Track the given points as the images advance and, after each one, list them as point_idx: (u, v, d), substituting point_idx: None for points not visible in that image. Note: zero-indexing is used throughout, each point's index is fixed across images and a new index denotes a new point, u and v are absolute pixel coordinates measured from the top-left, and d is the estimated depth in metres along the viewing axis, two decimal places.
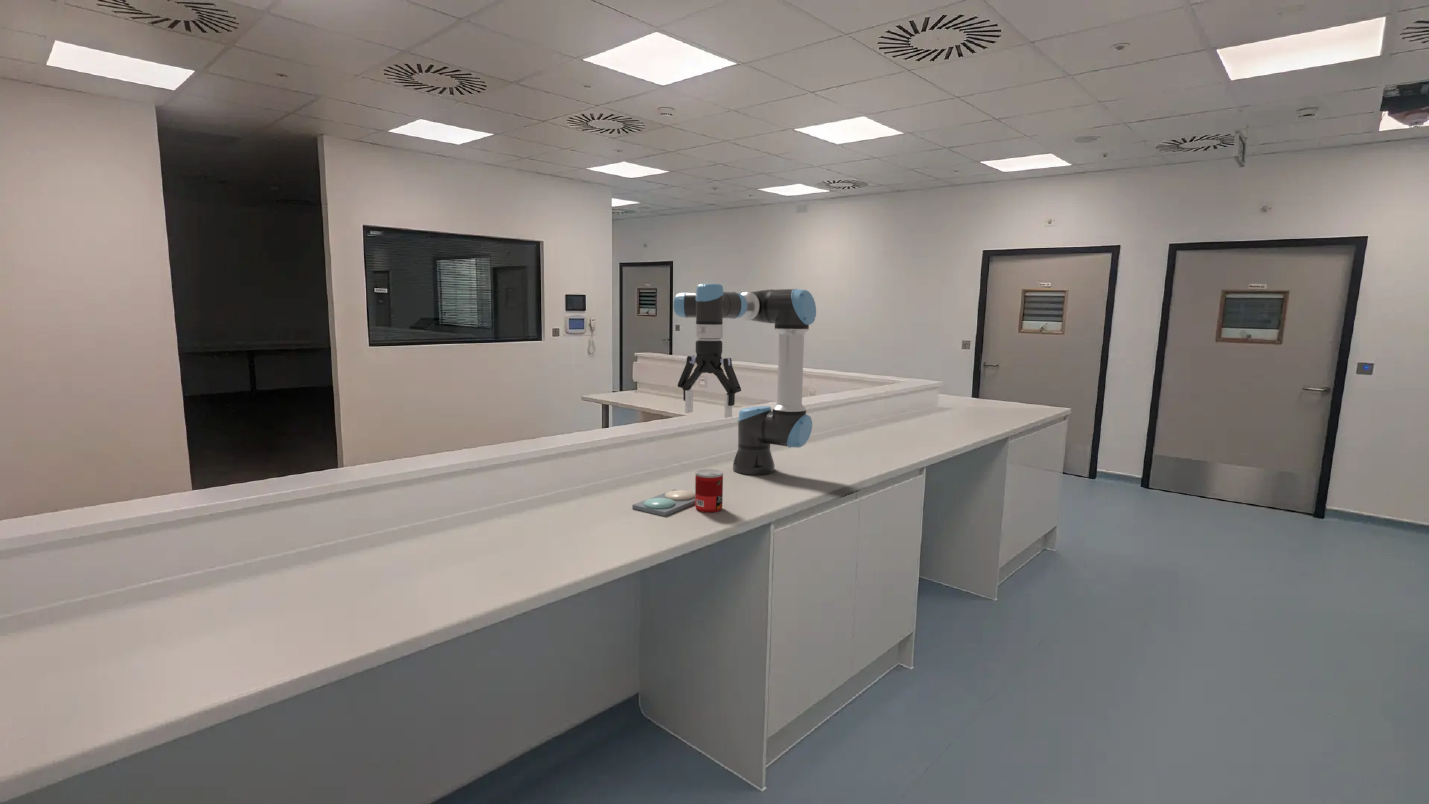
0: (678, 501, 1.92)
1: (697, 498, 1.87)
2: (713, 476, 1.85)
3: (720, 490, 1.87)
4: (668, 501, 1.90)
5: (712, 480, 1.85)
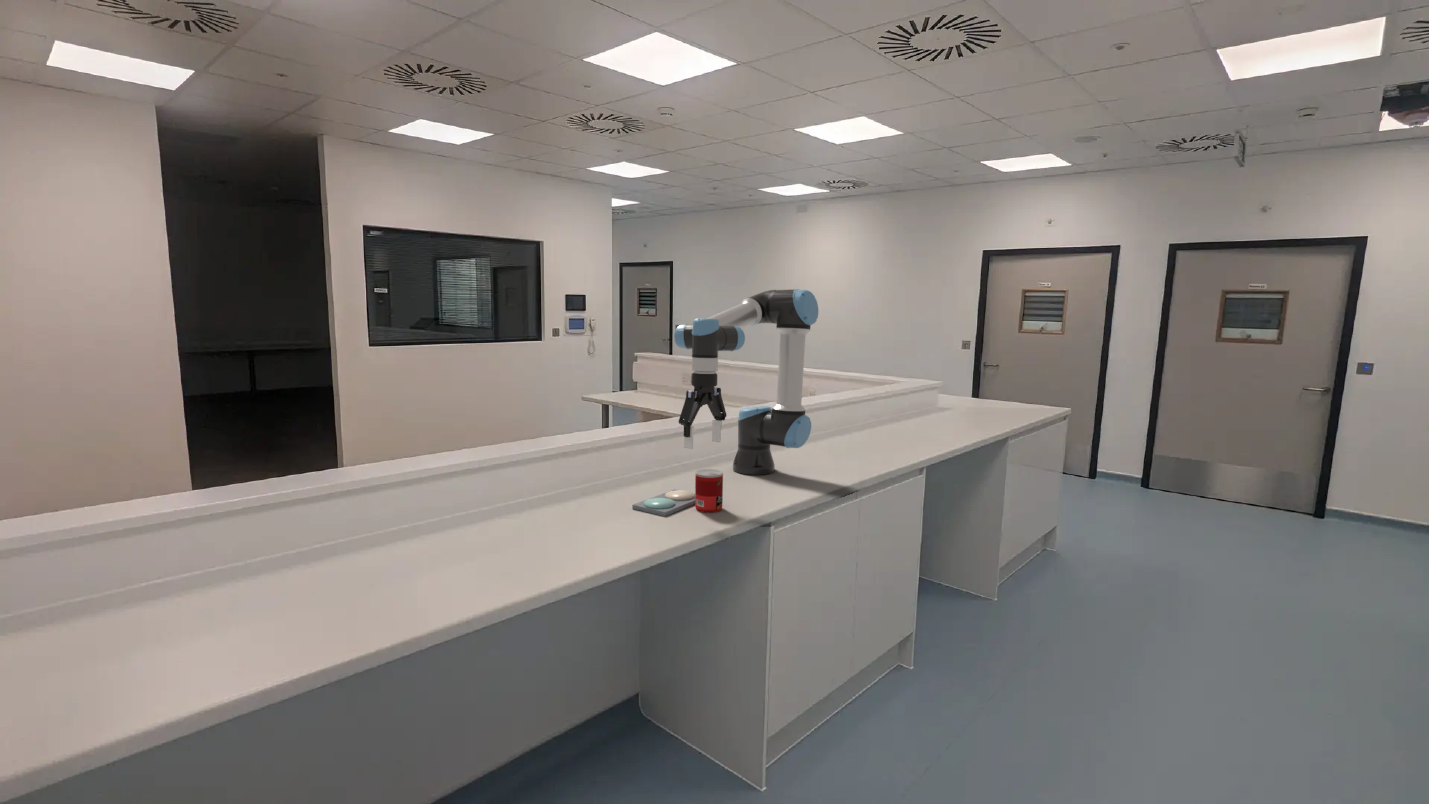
0: (678, 501, 1.92)
1: (697, 498, 1.87)
2: (713, 476, 1.85)
3: (720, 490, 1.87)
4: (668, 501, 1.90)
5: (712, 480, 1.85)
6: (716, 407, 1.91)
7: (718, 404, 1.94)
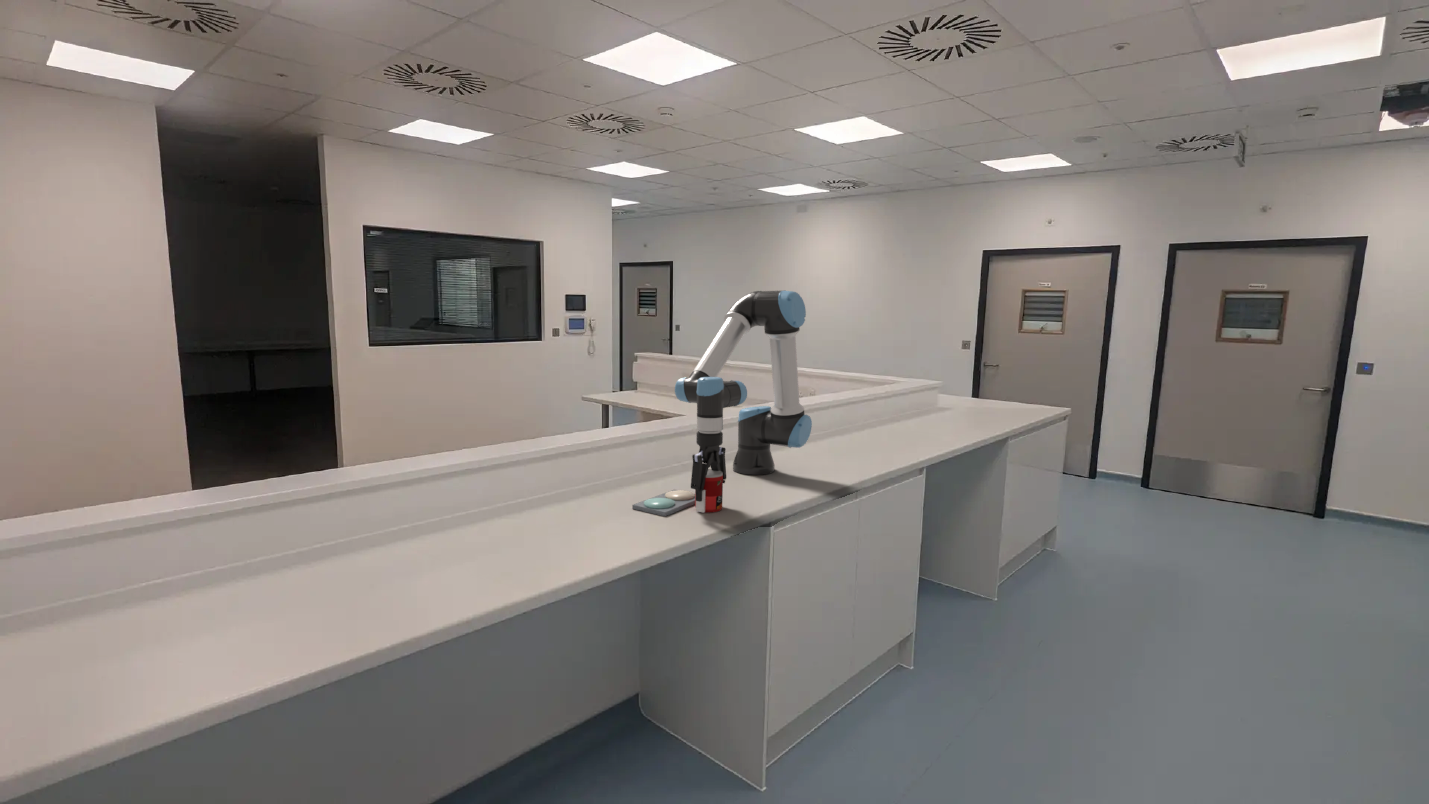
0: (678, 501, 1.92)
1: None
2: (713, 476, 1.85)
3: (720, 490, 1.87)
4: (668, 501, 1.90)
5: (712, 480, 1.85)
6: (718, 468, 1.90)
7: (720, 464, 1.92)
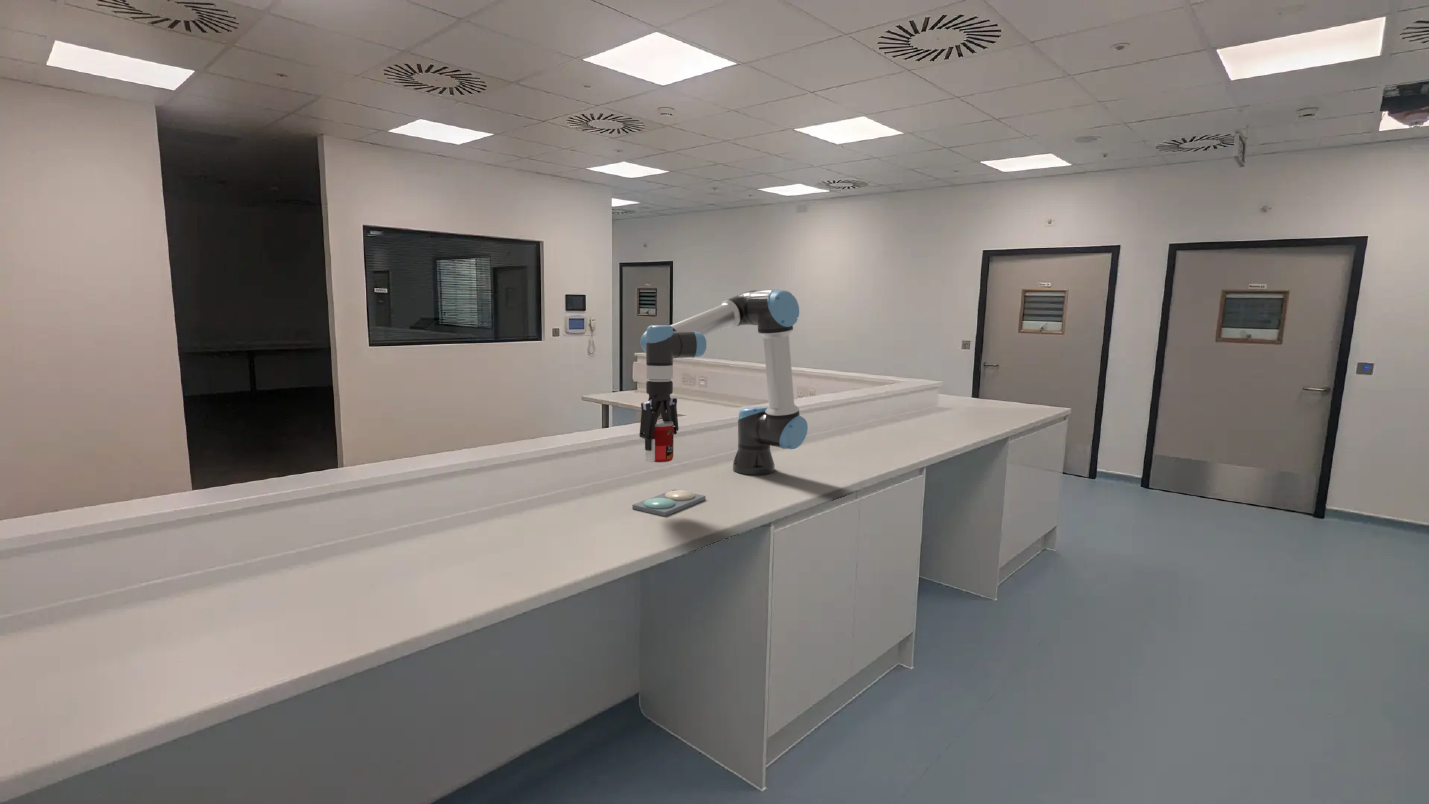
0: (678, 501, 1.92)
1: None
2: (662, 425, 1.82)
3: (670, 440, 1.85)
4: (668, 501, 1.90)
5: (661, 429, 1.82)
6: (669, 418, 1.88)
7: (672, 415, 1.90)
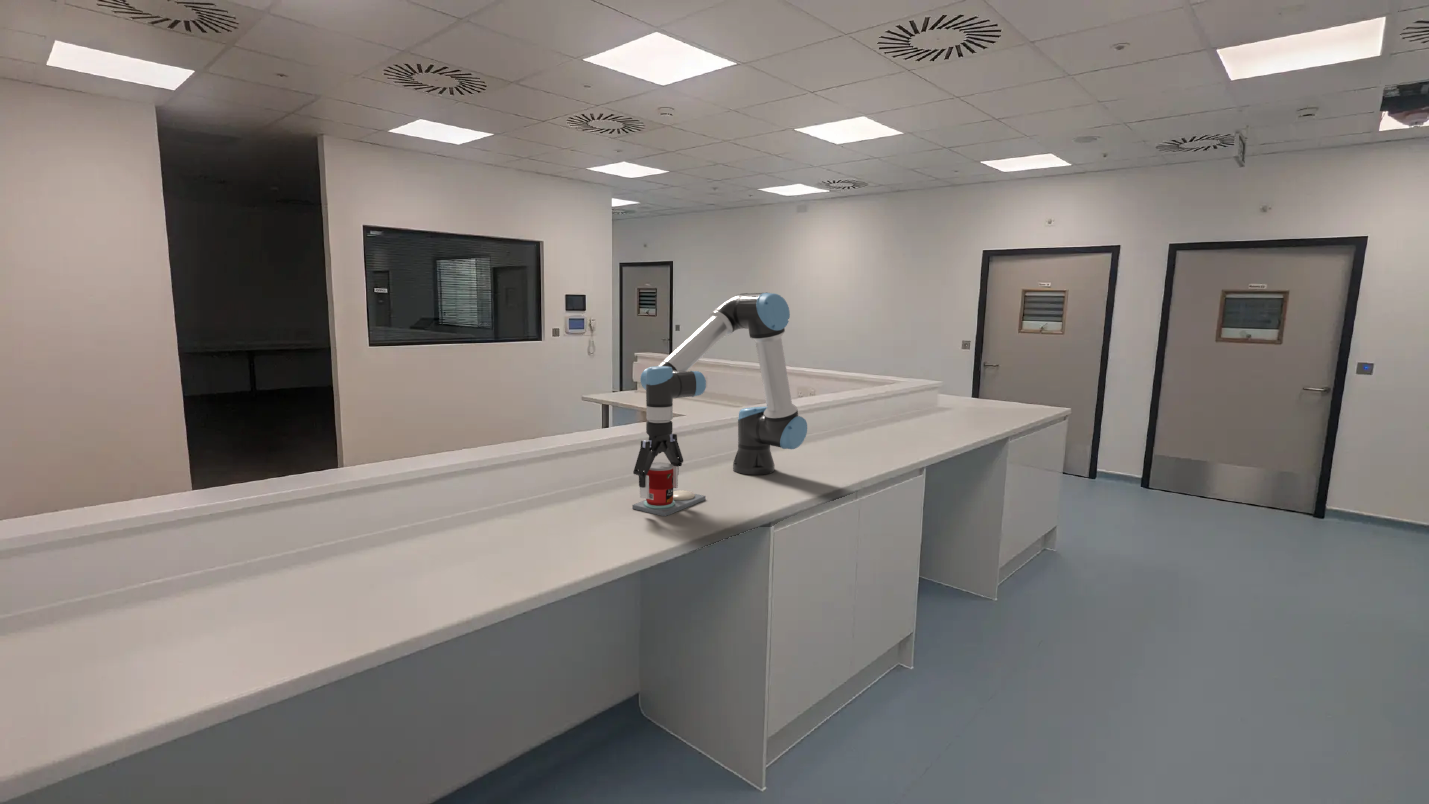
0: (678, 501, 1.92)
1: None
2: (663, 469, 1.84)
3: (670, 483, 1.86)
4: None
5: (661, 473, 1.84)
6: (672, 454, 1.91)
7: (674, 450, 1.93)
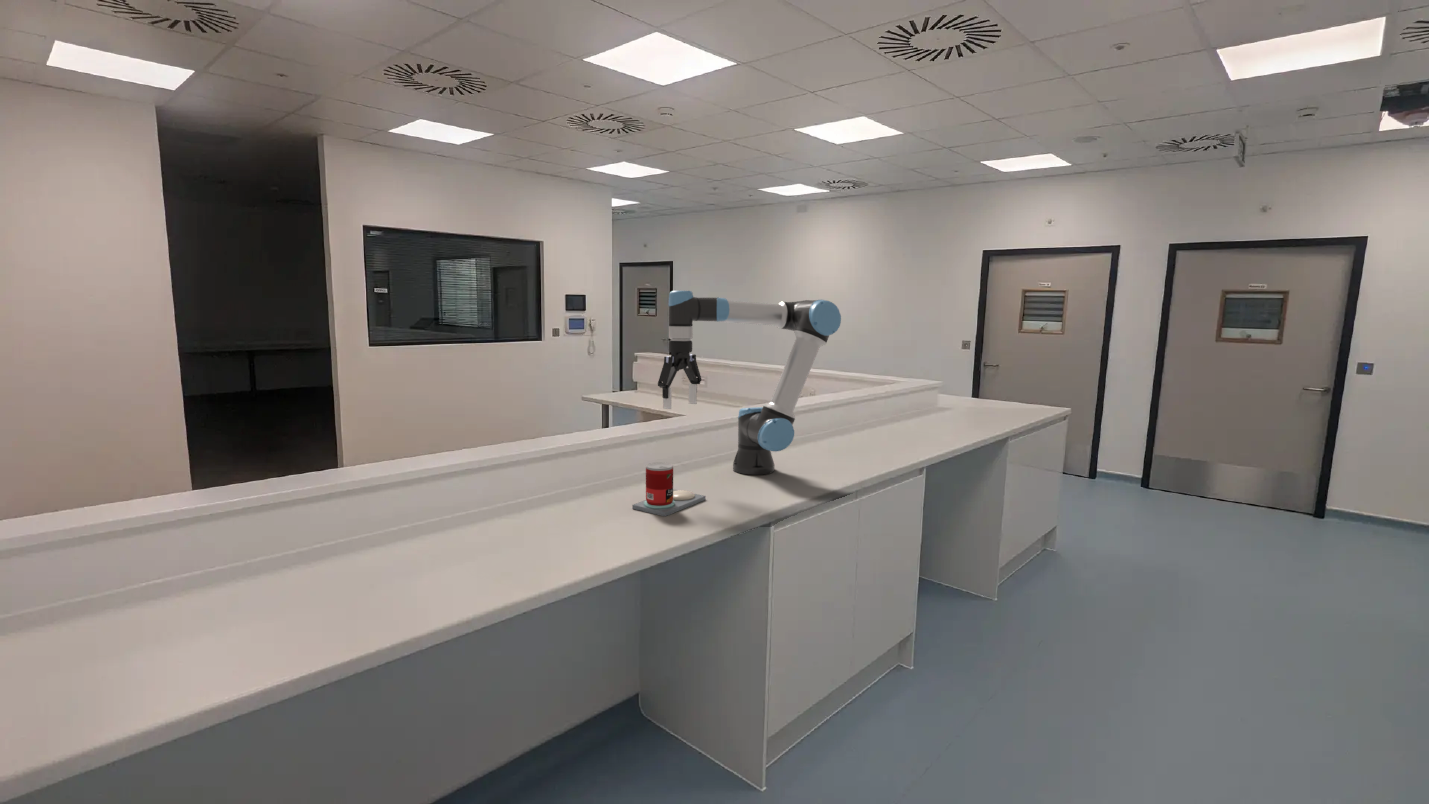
0: (678, 501, 1.92)
1: (647, 491, 1.87)
2: (662, 469, 1.84)
3: (670, 483, 1.86)
4: None
5: (661, 473, 1.84)
6: (692, 372, 2.11)
7: (693, 369, 2.13)
